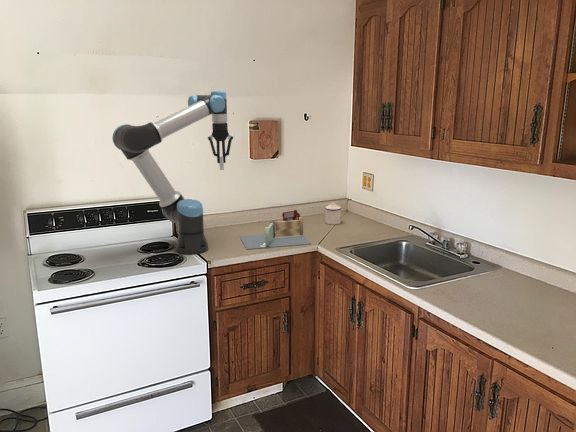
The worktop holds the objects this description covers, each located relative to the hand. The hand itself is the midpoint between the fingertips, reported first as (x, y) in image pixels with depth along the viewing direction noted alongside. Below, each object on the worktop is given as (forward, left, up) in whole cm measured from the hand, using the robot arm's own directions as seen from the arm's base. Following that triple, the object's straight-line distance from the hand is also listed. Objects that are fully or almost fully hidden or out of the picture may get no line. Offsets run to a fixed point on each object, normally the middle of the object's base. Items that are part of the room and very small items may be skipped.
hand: (221, 169), depth 257 cm
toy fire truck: (+37, 0, -35) cm, 51 cm away
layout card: (+23, -18, -34) cm, 45 cm away
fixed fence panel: (+30, -14, -34) cm, 48 cm away
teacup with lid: (+62, +8, -35) cm, 71 cm away
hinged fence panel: (+20, -22, -33) cm, 45 cm away
